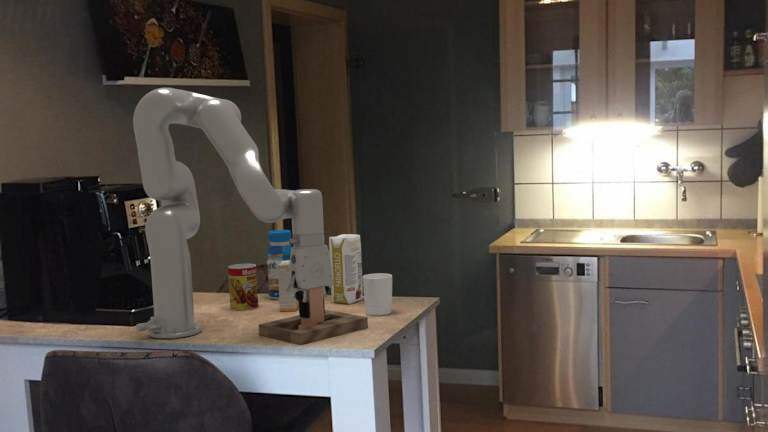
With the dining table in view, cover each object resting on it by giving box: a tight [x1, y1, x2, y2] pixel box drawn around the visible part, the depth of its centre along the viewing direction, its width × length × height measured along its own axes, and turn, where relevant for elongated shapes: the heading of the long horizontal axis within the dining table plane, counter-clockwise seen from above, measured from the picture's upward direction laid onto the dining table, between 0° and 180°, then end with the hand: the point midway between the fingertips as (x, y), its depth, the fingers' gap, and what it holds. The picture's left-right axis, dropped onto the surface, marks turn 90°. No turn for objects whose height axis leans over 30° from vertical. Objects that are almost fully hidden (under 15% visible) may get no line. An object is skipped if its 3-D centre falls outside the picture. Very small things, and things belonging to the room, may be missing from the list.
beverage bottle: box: [266, 229, 293, 301], centre depth 244 cm, size 8×8×20 cm
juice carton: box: [328, 233, 364, 305], centre depth 234 cm, size 8×9×19 cm
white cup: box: [362, 272, 393, 316], centre depth 217 cm, size 8×8×10 cm
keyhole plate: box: [257, 309, 369, 346], centre depth 199 cm, size 21×16×3 cm
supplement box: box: [278, 260, 299, 312], centre depth 227 cm, size 8×5×13 cm, turn 179°
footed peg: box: [298, 287, 325, 329], centre depth 198 cm, size 7×7×12 cm
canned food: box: [227, 263, 259, 312], centre depth 231 cm, size 8×8×12 cm
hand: (312, 315), depth 198 cm, fingers closed on footed peg, 4 cm apart
